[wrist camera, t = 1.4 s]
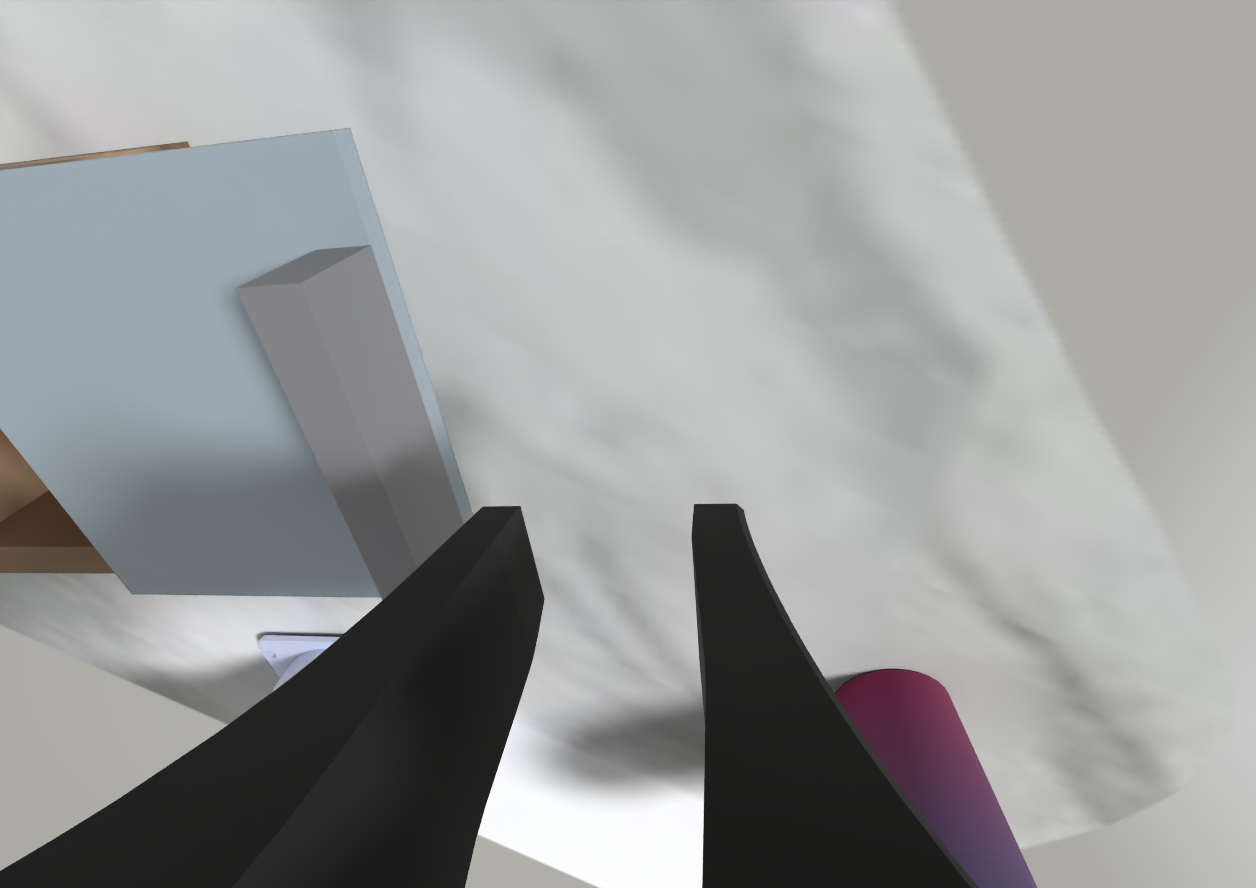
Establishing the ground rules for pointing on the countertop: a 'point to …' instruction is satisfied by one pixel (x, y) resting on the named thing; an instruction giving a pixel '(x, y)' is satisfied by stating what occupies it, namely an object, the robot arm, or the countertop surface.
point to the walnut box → (18, 499)
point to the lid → (223, 370)
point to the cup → (937, 770)
